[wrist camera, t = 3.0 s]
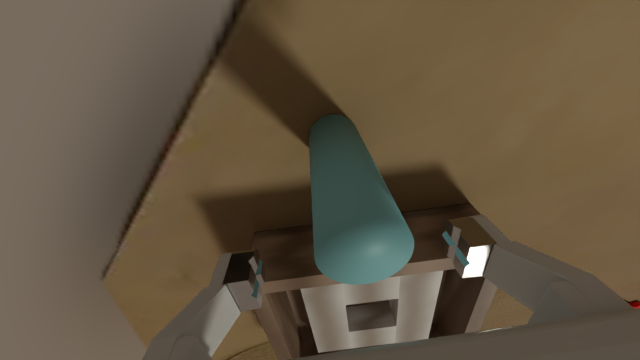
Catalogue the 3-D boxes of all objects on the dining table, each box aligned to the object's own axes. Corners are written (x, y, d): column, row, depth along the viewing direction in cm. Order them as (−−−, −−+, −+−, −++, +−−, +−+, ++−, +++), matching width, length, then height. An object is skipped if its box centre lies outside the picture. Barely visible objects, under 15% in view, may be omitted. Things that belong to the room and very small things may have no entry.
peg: (356, 110, 19) (418, 208, 9) (358, 156, 21) (410, 278, 11) (305, 118, 19) (307, 223, 9) (312, 163, 21) (320, 289, 11)
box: (470, 203, 24) (514, 249, 19) (440, 319, 36) (462, 367, 31) (254, 232, 25) (242, 285, 20) (294, 338, 37) (292, 388, 31)
